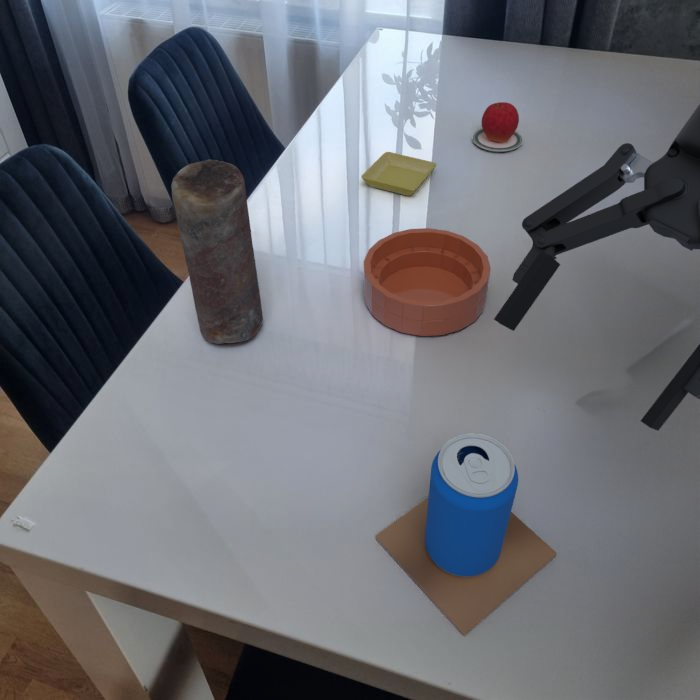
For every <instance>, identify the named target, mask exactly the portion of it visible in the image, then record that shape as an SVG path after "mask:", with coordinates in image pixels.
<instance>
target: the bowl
mask: <svg viewBox="0 0 700 700" xmlns="http://www.w3.org/2000/svg"><path fill="white" fill-rule="evenodd" d="M488 257H489V256H487V254H486V253H485V251H484V250H483V248H481V246H480V245H479V244H477V243H475V242H474V241H472V240H471V239H469V238H467V237H466V236H464V235H462V234H459V233H455V232H454V231H450V230H445V229H439V228H430V227H425V228H424V227H423V228H408V229H405V230H400V231H396V232H393V233H391V234H389V235H387V236H384V237H383V238H380V239H379V240H377V241H376V242H375V243H374V244H373V245H372V246H371V247H370V248H369V249H368V251H367V253H366V255H365V257H364V260H363V295H364V303H365V305H366V307H367V309H368V311H369V312H370V314H371V315H372V317H374V318H375V319H376V320H377V321H378V322H379V323H381V324H382V325H383V326H385V327H388V328H390V329H392V330H395V331H397V332H399V333H402V334H408V335H413V336H419V337H433V336H434V337H437V336H444V335H449V334H450V333H451V334H452V333H455V332H458V331H461V330H463V329H464V328H466V327H468V326H469V325H471V324H472V323H474V322H476V320H477V319H479V317H480V315H481V314H482V313H483V312H484V310H485V306H486V301H487V296H488V290H489V289H488V288H489V281H490V275H491V264H490V261H489V258H488Z"/></svg>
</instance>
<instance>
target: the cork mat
mask: <svg viewBox="0 0 700 700" xmlns="http://www.w3.org/2000/svg"><path fill="white" fill-rule="evenodd" d="M428 498H429V496H428V497H426V498H425V499H424V500H422V501H421V502H420V503H419V504H417V505H416V506H414V507H413V508H411V510H409V511H407V512H406V513H405V514H404V515H402V516H401V517H399V518H398V519H396V520H395V521H394V522H392V524H390V525H388V526H387V527H386V528H384V529H383V530H382V531H380V532H379V533H377V534H376V535H375V540H376V541H377V543H378V544H379V545H380V546H381V547H382V548H383V549H384V551H385V552H386V553H388V555H389V556H390V557H391V559H393V560H394V561H395V563H396V564H397V565H398V566H399V567H400V569H402V570H403V571H404V573H406V575H407V576H408V577H409V578H410V579H411V580H412V581H413V582H414V584H415V585H416V586H417V587H418V588H419V589H420V590H421V591H422V592H423V593H424V595H425V596H427V598H428V599H429V600H430V601H431V602H432V603H433V605H435V607H436V608H437V609H438V610H439V611H440V612H441V613H442V615H444V616H445V618H446V619H447V620H448V621H449V622H450V623H451V624H452V625H453V626H454V627H455V629H456V630H457V631H458V632H459V633H460V634H461V635H462V636H463V637H466V636H467V635H468V634H469V633H470V632H471V631H473V629H475V628H476V627H477V626H478V625H479V624H481V623H482V622H483V621H484V620H485V619H486V618H487V617H489V616H490V615H491V614H492V613H493V612H494V611H495V610H497V608H500V606H501V605H502V604H503V603H505V602H506V601H507V600H509V598H510V597H511V596H513V595H514V594H515V593H516V592H517V591H518V590H519V589H521V588H522V587H523V586H524V585H525V584H526V583H528V582H529V581H530V580H531V579H532V578H533V577H534V576H535V575H537V574H538V573H539V572H540V571H542V569H544V568H545V567H546V566H547V565H548V564H549V563H551V562H552V561H553V560H554V559H555V558H556V557H557V554H558V553H557V551H555V549H553V548H552V547H551V546H550V545H549V544H548V543H547V542H545V541H544V540H543V539H542V538H541V537H540V536H539V535H537V533H536V532H534V531H533V529H531V528H530V527H528V525H527V524H526V523H524V521H522V519H520V518H519V517H518V516H517V515H516V514H515V513H513V512H512V511H511V514H510V518H509V522H508V526H507V529H506V533H505V537H504V541H503V545H502V549H501V553H500V556H499V558H498V560H497V562H496V563H495V565H494V566H493V567H492V568H491V569H489V570H488V571H486V572H485V573H482V574H480V575H476V576H470V577H463V576H457V575H453V574H451V573H448V572H446V571H444V570H443V569H441V568H440V567H439V566H438V565H436V564H435V562H434V561H433V560H432V559H431V557H430V556H429V554H428V552H427V549H426V545H425V530H426V519H427V509H428Z"/></svg>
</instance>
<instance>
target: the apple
mask: <svg viewBox="0 0 700 700" xmlns="http://www.w3.org/2000/svg"><path fill="white" fill-rule="evenodd" d="M519 122H520V116H519V112H518V109H517V108H516V106H515V105H513V104H512V103H509V102H507V101H506V102H505V101H503V102H502V101H501V102H494V103H491V104H490V105H488V106H487V107H486V108H485V110H484V112H483V115H482V117H481V128H479V129H478V130H476V131H475V132H474V133H473V134H472V139H471V140H472V142H473V143H474V144H475V145H476V146H477V147H479V148H480V149H483V150H486V151H491V152H499V153H500V152H510V151H513V150H516V149H518V148H519V147H521V146H522V144H523V143H524V138H523V135H522V134H520V133H519V132H518V131H517V128H518V126H519Z"/></svg>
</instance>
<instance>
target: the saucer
mask: <svg viewBox="0 0 700 700" xmlns="http://www.w3.org/2000/svg"><path fill="white" fill-rule="evenodd" d="M437 166H438V164H437V163H436V162H434V161H430V160H426V159H421V158H417V157H413V156H409V155H404V154H400V153H396V152H393V151H386V152H384V153H382V154H381V155H380V156H379V158H378V159H377V160H376V161H375V162H374V163H373V164H372V165H371V166H370V167H369V168H368V169H366V171H365V172H364V173H363V174H361V176H360V178H361V179H362V180H363V181H364V182H365V183H366V184H367V185H369V186H370V187H371V188H372V187H373V188H375V189H379V190H384V191H388V192H392V193H395V194H399V195H403V196H407V197H409V196H411V195H413V194H414V193H415V192H416V190H418V188H419V187H420V186H421V185H422V184H423V182H424V181H425V180H426V179H427V178H428V176H429V175H430V174H431V173H432V172H433V171H434V170H435V168H436V167H437Z"/></svg>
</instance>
